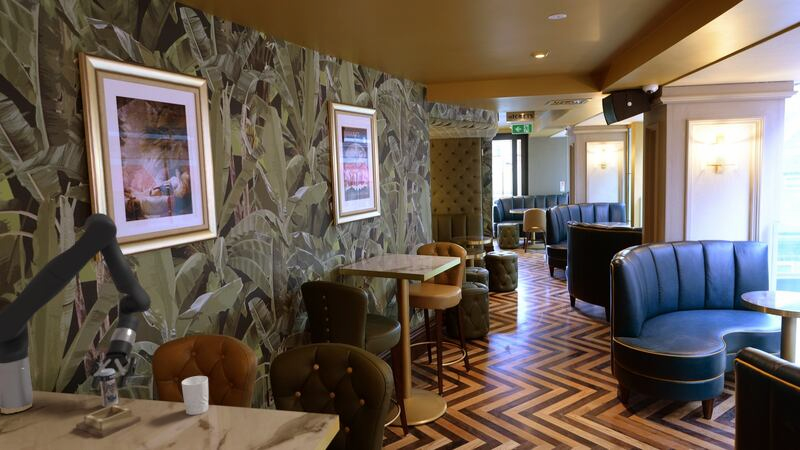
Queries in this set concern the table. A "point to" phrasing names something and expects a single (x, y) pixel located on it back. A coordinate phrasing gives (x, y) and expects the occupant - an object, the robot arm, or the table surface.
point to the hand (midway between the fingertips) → (106, 388)
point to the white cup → (195, 394)
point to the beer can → (108, 387)
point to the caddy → (108, 420)
